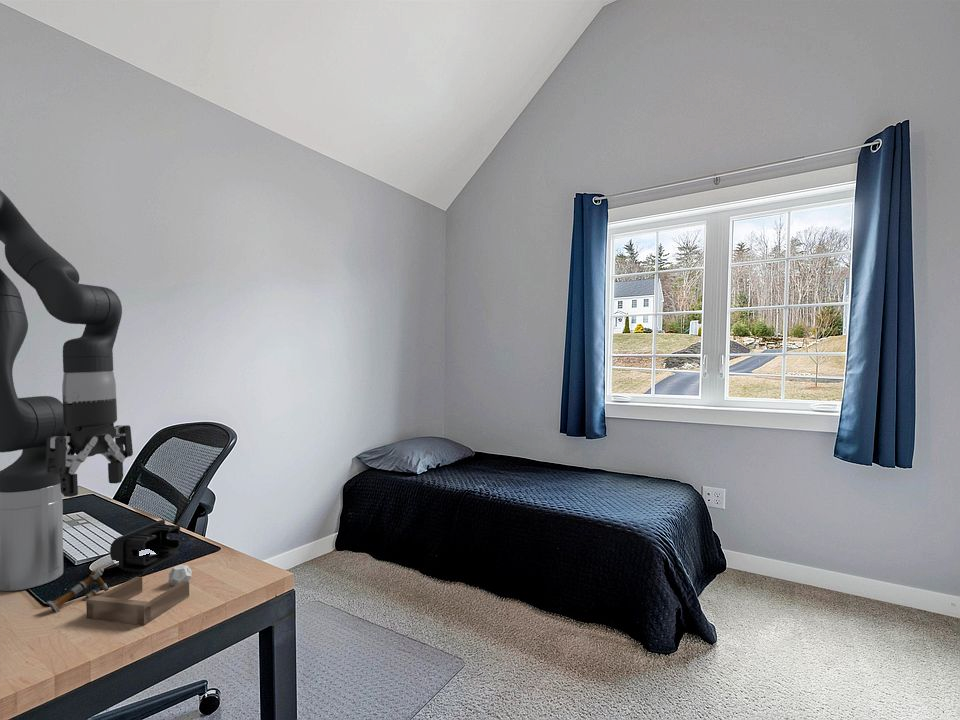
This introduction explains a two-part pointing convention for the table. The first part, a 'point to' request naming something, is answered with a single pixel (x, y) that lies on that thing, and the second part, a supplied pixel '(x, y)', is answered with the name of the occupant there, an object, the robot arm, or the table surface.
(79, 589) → the wooden post with brackets
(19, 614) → the table surface
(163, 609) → the dice corral
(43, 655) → the table surface
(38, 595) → the table surface
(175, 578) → the game die
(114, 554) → the end cap
